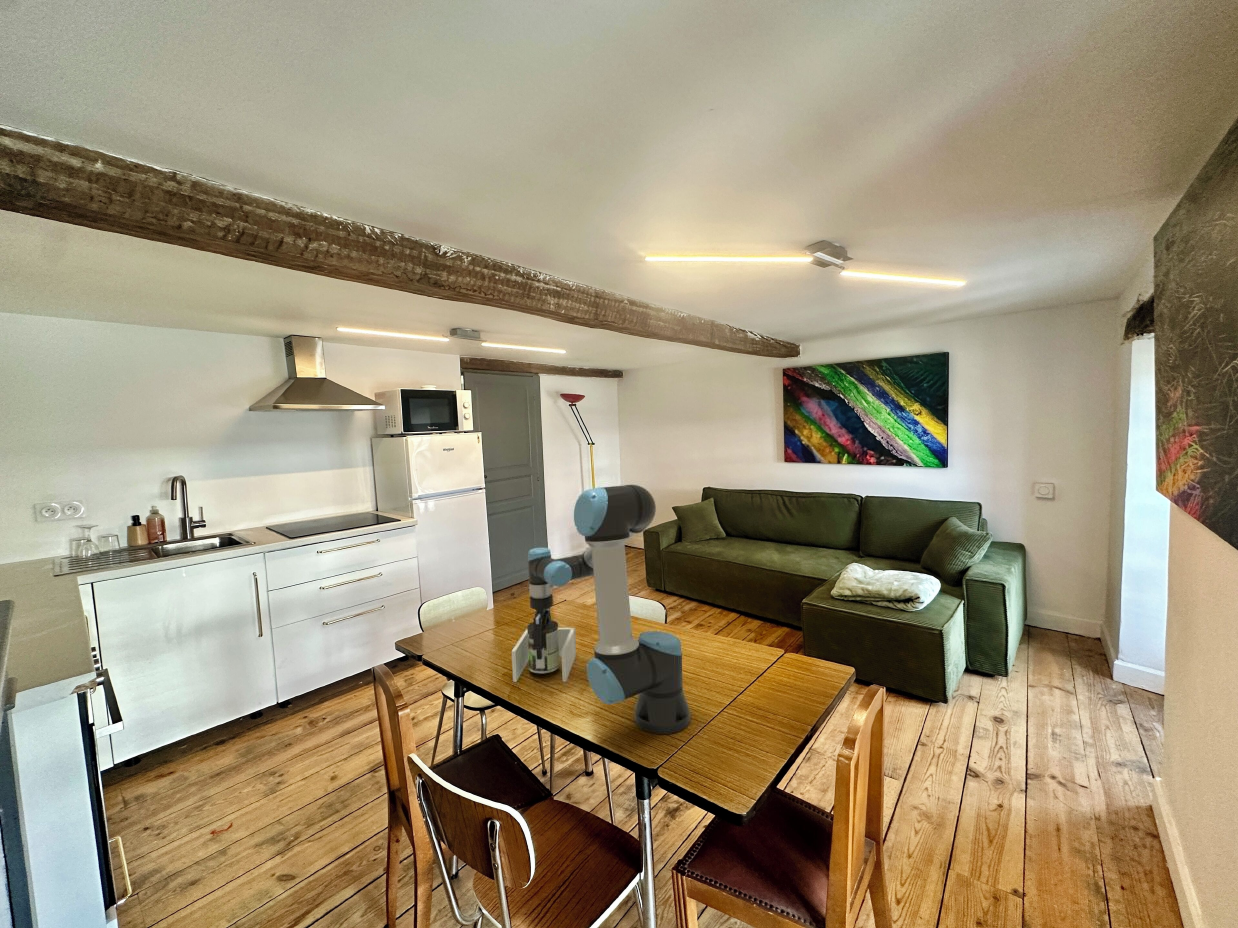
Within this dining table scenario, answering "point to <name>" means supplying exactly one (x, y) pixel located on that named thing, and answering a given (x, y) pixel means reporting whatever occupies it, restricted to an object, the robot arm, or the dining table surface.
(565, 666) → the white u-shaped bracket
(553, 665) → the coffee can
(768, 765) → the dining table surface
